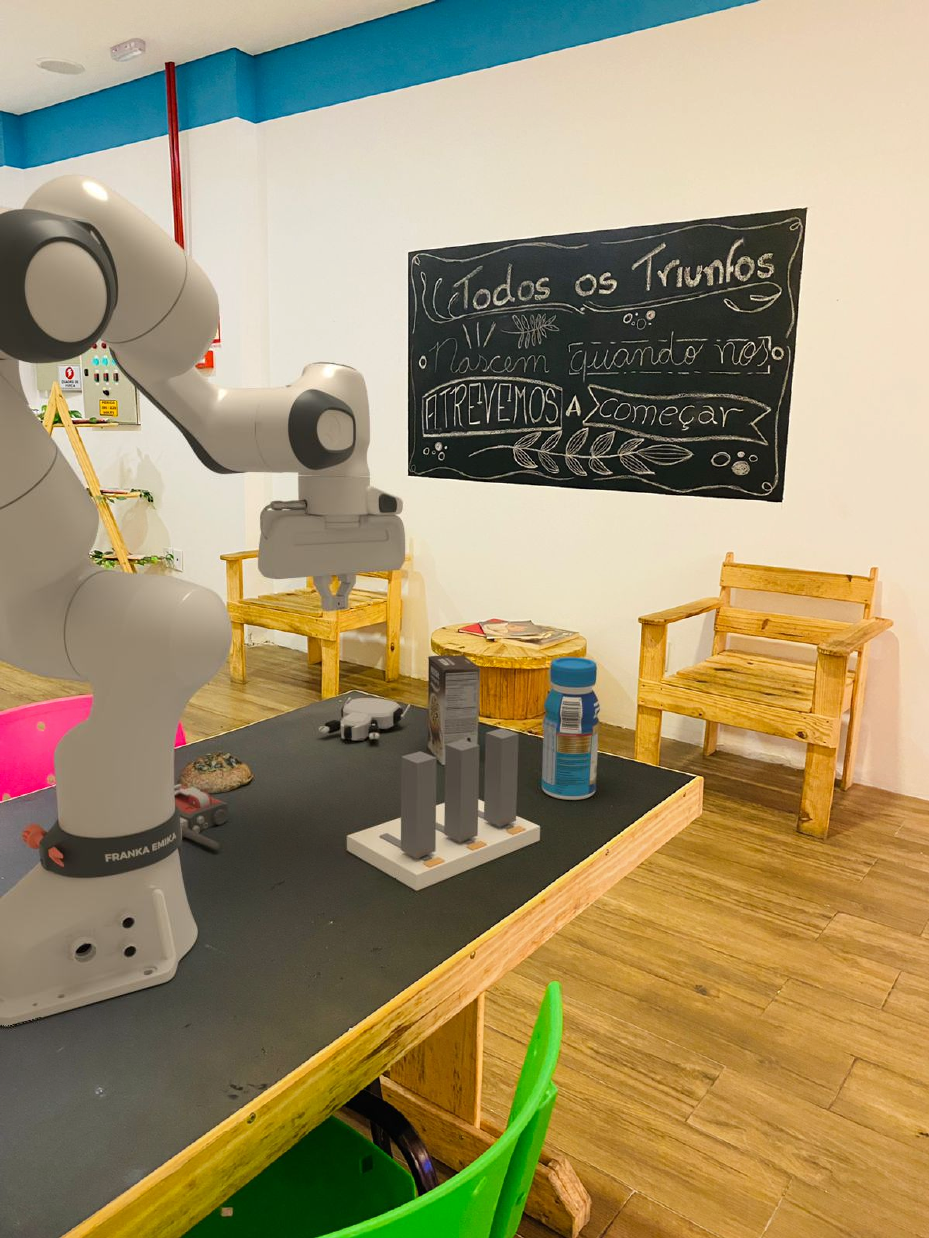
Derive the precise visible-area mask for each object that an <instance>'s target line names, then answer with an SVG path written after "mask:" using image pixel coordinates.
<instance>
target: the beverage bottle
mask: <svg viewBox="0 0 929 1238" xmlns="http://www.w3.org/2000/svg"><path fill="white" fill-rule="evenodd" d="M549 670H550V672H549V673H550V674H549V677H550V678H549V679H550V680H549V681H550V683H551V685H552V686H553V687H552V688H551V689H550V691H549V692H548V694H547V696H546V698H545V701H544V705H543V706H544V711H545V714H544V716H543V719H542V729H543V733H542V735H543V738H542V771H541V775H542V776H541V789H542V791H543V792H544V793H545V794H547V795H548V796H551V797H552V798H555V799H561V800H566V801H567V800H569V801H571V800H572V801H577V800H578V801H579V800H584V799H587V798H589V797H591V796H593V795H594V794H595V792H596V791H597V767H598V751H599V750H598V749H599V735H600V734H599V732H600V730H601V722H600V719H599V718H598V715H599V712H600V710H601V706H600V702H599V699H598V697H597V695H596V693H595V690H593V688H594V687H595V686H596V683H597V675H598V673H597V671H598V667H597V663H596V661H593V660H591V659H589V658H584V657H572V656H567V657H566V656H565V657H558V658H554V659H553V660H551V663H550V669H549Z"/></svg>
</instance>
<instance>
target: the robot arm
mask: <svg viewBox="0 0 929 1238" xmlns="http://www.w3.org/2000/svg"><path fill="white" fill-rule="evenodd" d="M219 324H220V303H219V297H218V292H217V291H216V289H215V286H214V285H213V284H212V282H211V280H210V278H209V276H208V275H207V274H206V272H204V269H202V267H201V266H200V265H199V264H198V263H197V262H196V260H194V259H193V258H192V256H191V255H189V253H188V252H186V250H184V249H183V247H181V246H180V245H179V243H178V242H176V241H175V240H174V239H173V238H172V237H171V235H169V234H168V233H167V232H166V231H165V230H164V229H163V228H162V227H161V226H159V224H157V223H156V222H155V221H154V220H152V218H151V217H149V216H148V215H147V214H145V213H144V212H143V211H142V210H141V209H139V207H137V206H135V204H133V203H132V202H131V201H129V200H128V199H126V198H125V197H123V196H122V195H121V194H120V193H118V192H116V191H115V190H113V189H112V188H111V187H109V186H107V185H106V184H104V183H103V182H101V181H99V180H97V179H95V178H94V177H89V176H87V175H84V174H64V175H61V176H58V177H57V176H56V177H55V178H54V177H53V178H52V179H50V180H47V182H44V183H43V184H42V185H40V186H39V187H38V188H37V189H36V190H35V191H34V192H33V193H31V195H30V196H29V198H28V199H27V200H26V202H25V203H24V205H23V207H22V208H19V209H18V208H13V207H12V208H11V207H7V206H2V205H0V662H3V663H6V664H8V665H10V666H12V667H15V668H17V669H19V670H22V671H24V672H27V673H30V674H32V675H36V676H39V677H44V678H50V679H56V680H63V681H74V682H79V683H80V682H81V683H89V684H90V685H91V686H90V687H91V688H92V703H91V708H90V711H89V716H88V718H86V719H85V720H83V721H81V722H79V723H78V724H76V725H74V726H73V727H72V728H70V729H69V730H68V731H67V732H66V733H65V734H64V735H63V736H62V737H61V739H59V742H58V743H57V745H56V747H55V751H54V754H53V766H54V778H55V790H56V791H55V792H56V804H57V816H58V817H57V819H56V820H55V822H54V824H53V825H52V826H51V827H50V829H49V830H48V831H46V830H45V829H44V828H43V827H42V826H41V825H40V824H37V823H33V824H30V825H27V826H26V827H25V828H24V831H23V830H22V835H21V839H22V841H23V842H24V843H25V844H27V846H28V847H29V848H30V849H33V850H39V862H38V863H37V864H36V865H35V866H34V867H33V868H32V869H31V870H29V872H28V873H26V874H25V875H24V876H23V877H22V878H21V879H20V880H19V881H18V882H17V883H16V884H15V885H14V886H13V887H11V888H10V889H9V890H8V891H7V892H6V893H5V894H4V895H3V896H1V898H0V1026H1V1025H2V1027H11V1026H10V1025H12V1024H14V1023H18V1022H22V1021H27V1020H31V1021H33V1020H32V1019H34V1020H36V1019H35V1018H37V1017H41V1018H45V1017H48V1016H52V1015H55V1014H59V1013H62V1012H65V1011H70V1010H73V1009H77V1008H79V1007H84V1006H86V1005H90V1004H93V1003H97V1002H100V1001H104V1000H107V999H111V998H115V997H118V996H121V995H125V994H129V993H132V992H135V991H139V990H143V989H146V988H149V987H153V986H157V985H161V984H164V983H167V982H169V981H170V980H172V979H173V978H174V977H175V974H176V972H177V969H178V966H179V962H180V961H181V959H182V958H183V957H184V956H185V955H186V954H187V953H188V952H189V951H190V950H191V949H192V948H193V946H194V944H195V943H196V940H197V938H198V932H199V931H198V926H197V925H198V924H197V923H196V922H195V918H194V916H193V913H192V911H191V908H190V903H189V902H188V896H187V893H186V888H185V883H184V879H183V878H184V877H183V873H182V867H181V860H180V858H181V856H182V850H183V848H182V847H183V846H182V845H183V844H182V840H183V836H182V828H181V821H180V811H179V807H178V806H177V805H176V804H175V793H174V783H175V745H176V735H177V732H178V728H179V727H178V726H179V724H180V721H181V718H182V717H183V713H184V711H185V709H186V708H187V706H188V703H189V702H190V700H191V699H192V698H193V697H194V696H195V694H196V693H197V692H199V690H200V689H202V688H203V687H205V686H206V685H207V684H209V683H210V682H211V681H213V679H214V678H215V677H216V676H217V675H218V674H219V672H221V670H222V669H223V667H224V666H225V664H226V662H227V660H228V658H229V654H230V653H231V648H232V644H233V643H232V642H233V627H232V626H233V625H232V620H231V616H230V613H229V610H228V608H227V606H226V604H225V602H224V601H223V599H222V598H221V596H220V595H219V594H218V593H217V592H215V591H214V590H212V589H211V588H208V587H205V586H202V585H199V584H196V583H193V582H191V581H189V580H185V579H182V578H178V577H175V576H172V575H165V574H164V575H163V574H151V573H140V572H139V573H138V572H125V571H124V572H123V571H116V570H111V569H107V568H104V567H102V566H100V565H99V564H98V563H96V562H94V560H92V559H91V557H90V556H89V554H90V552H91V551H92V549H93V548H94V545H95V543H96V540H97V536H98V533H99V531H98V530H99V525H100V513H99V510H98V506H97V504H96V502H95V500H94V499H93V498H92V496H91V495H90V494H89V491H87V488H86V487H85V485H84V484H83V483H82V481H81V479H80V478H79V477H78V475H77V473H76V472H75V471H74V469H73V467H72V465H71V464H70V463H69V461H68V460H67V458H66V457H65V455H64V453H63V452H62V451H61V449H60V448H59V446H58V444H57V443H56V441H55V440H54V438H53V437H52V436H51V434H50V433H49V431H48V430H47V429H46V427H45V426H44V424H43V423H42V422H41V420H40V419H39V418H38V416H37V415H36V414H35V412H34V410H32V408H31V407H30V406H29V405H30V403H29V400H28V398H27V397H26V393H25V391H24V388H23V384H22V380H21V375H20V361H21V362H25V363H29V364H53V363H59V362H60V363H61V362H65V361H69V360H73V359H74V358H75V359H76V358H77V357H80V356H82V355H83V354H86V353H87V352H88V351H89V350H90V349H92V348H93V347H94V346H95V344H97V343H98V341H99V340H100V341H101V342H103V343H104V344H106V346H108V349H109V353H110V355H111V358H112V360H113V363H115V366H116V367H117V368H118V369H119V371H120V372H121V373H122V374H123V376H124V377H125V378H126V379H128V381H129V382H130V384H132V385H133V386H134V387H135V388H136V390H138V392H140V393H141V394H142V395H143V396H144V397H145V398H147V400H148V401H149V402H150V403H151V404H152V405H153V406H154V407H156V409H157V410H158V411H160V412H161V414H162V415H164V416H165V417H166V418H167V420H169V421H170V423H172V424H173V425H174V426H175V428H176V429H178V430H179V432H180V433H181V435H182V436H183V437H184V438H185V440H186V442H187V443H188V444H189V447H190V448H191V450H192V452H193V453H194V455H195V456H196V457H197V459H198V461H199V462H201V463H202V465H204V467H206V468H207V469H208V470H210V471H211V472H213V473H215V474H219V475H233V474H235V475H236V474H244V473H274V474H275V473H276V474H277V473H279V474H281V473H282V474H283V473H291V474H292V473H293V474H295V473H296V474H297V475H298V476H297V483H298V484H297V486H298V487H297V493H298V497H297V498H298V500H295V499H293V500H287V501H286V500H272V501H271V502H270V504H267V505H266V506H265V507H263V509H262V510H261V512H260V514H259V529H260V535H259V536H260V538H259V543H258V552H257V553H258V555H257V568H258V571H259V573H260V574H261V575H262V576H263V577H264V578H267V579H272V580H273V579H274V580H284V579H285V580H286V579H296V578H297V579H299V578H313V579H312V583H313V585H314V587H315V590H317V593H318V595H319V596H320V597H321V598H320V599H321V603H320V604H321V607H320V608H321V610H322V611H324V612H332V611H333V612H334V611H335V612H336V611H344V610H348V608H349V596H350V594H351V592H352V591H353V589H354V586H355V585H356V582H357V574H364V573H377V572H389V571H399V570H400V569H401V568H402V566H403V565H404V563H405V561H406V531H405V526H404V522H403V520H402V519H401V517H400V516H399V515H400V514H402V512H403V510H404V509H403V508H404V502H403V499H402V498H401V497H399V496H398V495H397V496H396V495H394V494H392V493H390V492H387V491H385V490H382V489H379V488H378V487H375V486H373V485H371V473H370V468H369V465H368V450H369V446H370V443H371V420H370V419H371V418H370V406H369V405H370V403H369V396H368V395H369V394H368V390H367V385H366V381H365V377H364V375H363V374H362V373H361V372H360V371H358V370H357V369H356V368H354V367H352V366H349V365H347V364H346V365H345V364H341V363H340V364H339V363H335V362H327V361H326V362H325V361H324V362H323V361H319V362H312V363H309V364H307V365H305V366H304V367H303V368H302V373H301V377H299V378H298V379H296V380H295V381H294V382H292V383H289V384H288V383H287V384H286V385H285V386H279V387H255V388H254V387H253V388H237V387H225V386H220V385H215V384H213V383H211V382H209V381H208V379H207V378H206V377H205V376H204V374H202V373H201V372H200V370H199V369H197V367H196V366H197V365H198V364H199V363H200V362H201V361H202V360H203V358H204V357H205V356H206V354H207V353H208V351H209V350H210V348H211V347H212V345H213V343H214V340H215V338H216V335H217V332H218V329H219V328H218V327H219ZM269 509H270V510H269ZM333 576H337V581H338V582H340V584H339V586H338V589H337V590H336V593H335V594H333V592H332V591H331V588H330V586H329V585H331V584H332V582H333V578H332V577H333ZM27 1022H28V1021H27ZM3 1025H4V1026H3ZM8 1025H9V1026H8ZM12 1026H13V1025H12Z"/></svg>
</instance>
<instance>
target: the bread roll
mask: <svg viewBox="0 0 929 1238" xmlns="http://www.w3.org/2000/svg"><path fill="white" fill-rule="evenodd" d="M178 777H179V778H178V784H181V785H184V786H187V787H189V788H190V787H194V788H196V789H199V790H200V792H201V791H204V792H206V793H208V794H209V795H210V794H211V795H212V794H219V793H220V794H221V793H226V792H230V791H233V790H235V789H237V788H238V787H241V786H244V785H247V784H248V783H249V782H250V781H251V780H252V779H253V778H254V774H252V772H251V769H250V768H249V766H248V764H246V763H245V762H243V761H242V760H241V759H239V758H238V757H236V756H232V754H231V753H229V752H226V753H225V754H224V753H223V751H221V750H219V751H218V752H216V753H213V754H212V753H207V754H205V756H203V757H200V758H198V759H196V760H193V761H190V762H188V763H187V765H186V766H185V767H184V768H183V769H182V771H181V773H179V776H178Z"/></svg>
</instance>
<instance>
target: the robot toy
mask: <svg viewBox="0 0 929 1238" xmlns="http://www.w3.org/2000/svg"><path fill="white" fill-rule="evenodd" d="M410 708H411V703H410V704H408V705H407V707H406V708H405V709H404V710H403V709H402V707H401V705H400V704H398V703H397V702H395V701H393V700H388V699H385V698H384V699H383V698H372V697H361V698H353V699H352V697H348V699H347V700H346V702H345V704H344V705H343V706H342V707H340V710H339V711H340V713H341V716H340V717H342V718H341V719H340V720H335V719H333V720H329V721H327V722H324V726H323V725H322V726H320V727H318V732H320V733H323V734H330V735H331V734H334V733H337V732H339V731H340V735H341V736H340V737H341V739H343V740H345V739H347V740H350V739H351V741H365V740H366V739H367V738H368V737H369V740H378V739H379V738H380V732H381V731H380V729H381V730H388V729H390V728H391V727H393V726H395V725H397V724H398V723H399V722H400V721H401V720H404V718H405V715H406V713H407V712H408V710H409V709H410ZM364 739H365V740H364Z"/></svg>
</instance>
